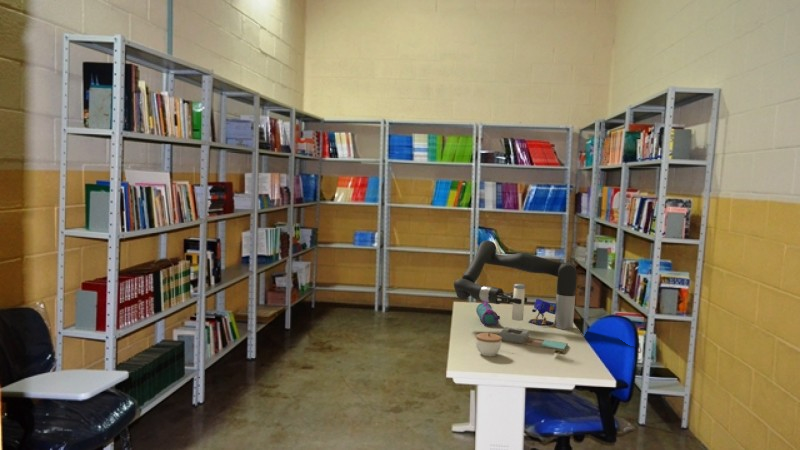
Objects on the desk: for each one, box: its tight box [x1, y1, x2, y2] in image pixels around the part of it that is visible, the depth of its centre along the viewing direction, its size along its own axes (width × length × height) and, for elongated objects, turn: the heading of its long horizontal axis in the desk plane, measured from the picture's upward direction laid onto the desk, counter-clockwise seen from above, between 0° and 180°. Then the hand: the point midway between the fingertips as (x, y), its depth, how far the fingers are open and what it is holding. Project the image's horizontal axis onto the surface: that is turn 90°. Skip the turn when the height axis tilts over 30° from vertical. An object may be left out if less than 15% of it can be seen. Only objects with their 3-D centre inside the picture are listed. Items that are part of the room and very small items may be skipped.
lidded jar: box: [475, 332, 502, 357], centre depth 241 cm, size 11×11×9 cm
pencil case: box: [475, 301, 501, 327], centre depth 295 cm, size 21×9×10 cm, turn 2°
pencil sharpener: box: [527, 298, 556, 328], centre depth 301 cm, size 14×18×13 cm
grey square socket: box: [499, 326, 530, 345], centre depth 263 cm, size 11×11×4 cm
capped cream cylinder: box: [511, 283, 526, 322], centre depth 261 cm, size 5×5×16 cm
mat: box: [541, 339, 567, 350], centre depth 255 cm, size 10×10×1 cm
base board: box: [501, 336, 569, 354], centre depth 260 cm, size 14×30×1 cm, turn 65°
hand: (523, 301), depth 259 cm, fingers closed on capped cream cylinder, 5 cm apart
